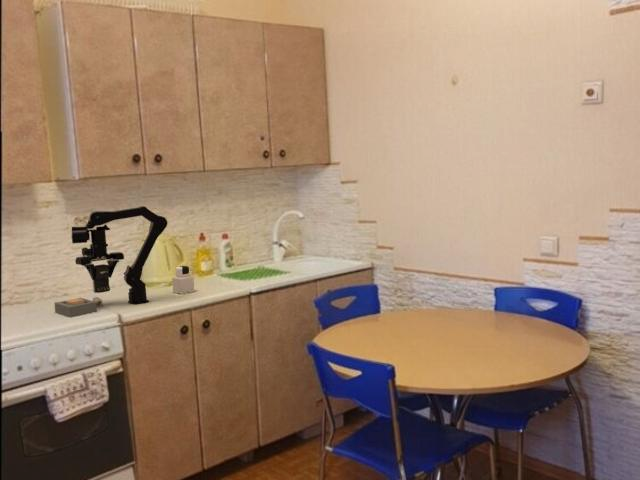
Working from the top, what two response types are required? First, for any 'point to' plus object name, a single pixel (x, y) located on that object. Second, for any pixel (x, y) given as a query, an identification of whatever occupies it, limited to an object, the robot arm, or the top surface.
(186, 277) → the grey stepped upright block
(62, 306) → the grey open box
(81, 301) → the switch button
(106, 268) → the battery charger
